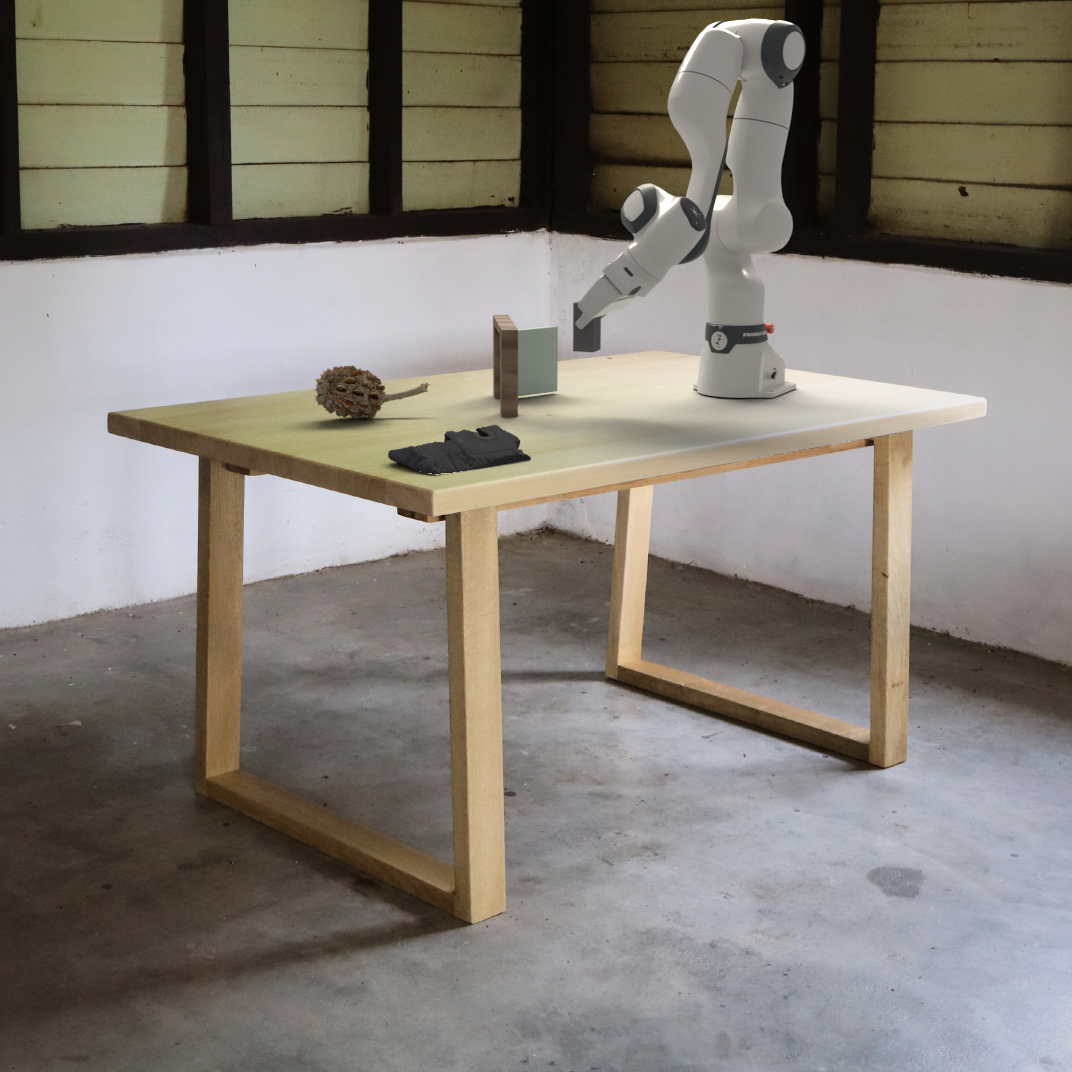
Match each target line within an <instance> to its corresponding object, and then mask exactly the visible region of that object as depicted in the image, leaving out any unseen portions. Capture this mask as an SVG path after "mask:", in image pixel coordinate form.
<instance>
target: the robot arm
mask: <svg viewBox="0 0 1072 1072" xmlns="http://www.w3.org/2000/svg"><path fill="white" fill-rule="evenodd" d="M806 43H807V42H806V39H805V36H804V34H803V32H802V29H801V28H800V27H799V26H798V25H797V24H794V23H792V22H789V21H786V20H781V19H780V20H771V19H765V18H764V19H763V18H749V19H739V20H730V21H728V20H720V21H715V22H713V23H710V24H708V25H707V26H706V27H705V28H704V29H703V30H702V31H701V32H700V33H699V34H698V35H697V37H696V39H694V41H693V43H692V45H691V46H690V47H689V49H688V51H687V52H686V55H685V56H684V58H683V60H682V62H681V64H680V65H679V69H678V70H677V72H676V73H677V74H676V76H675V78H674V80H673V83H672V86H671V88H670V90H669V94H668V98H667V111H668V115H669V118H670V121H671V123H672V125H673V127H674V128H675V130H676V131H677V132H678V134H679V136H680V137H681V139H682V142H683V143H684V144H685V147H686V148H687V150H688V153H689V156H690V158H691V165H692V166H691V167H692V168H691V169H692V171H691V175H690V179H689V184H688V188H687V191H686V195H685V196H675V195H673V194H670V193H669V192H667V191H666V190H664V189H662V188H661V187H659V186H658V185H655V184H653V183H650V182H649V183H643V184H640V185H638V186H636V188H634V189H633V190H631V191H630V192H629V193H628V194H627V195H626V197H625V198H624V199H623V201H622V204H621V208H620V219H621V223H622V224H623V226H624V228H626V229H627V231H628V232H630V233H631V234H632V235H633V240H632V242H630V243H629V244H628V245H627V246H626V247H625V248H624V249H623V250H622V251H621V252H620V253H619V254H618V255H617V256H616V257H615V258H614V259H613V260H612V261H611V262H609V263H608V264H607V265H606V266H604V268H603V269H602V273H603V274H601V276H600V277H598V279H597V280H596V281H595V282H594V283H593V284H592V285H591V287H589V289H588V291H586V292H585V294H584V295H583V296H582V298H581V299H580V300H579V301H580V302H579V304H578V307H579V309H580V310H581V311H582V312H583V314H582V315H581V317H580V318H579V319H578V320H577V321H576V326H577V327H578V328H579V329H584V328H585V327H586V326H587V325H588V324H589V322H590V321H591V320H592V319H593V318H596V317H599V316H601V320H602V319H603V318H605V317H606V316H607V315H609V314H611V313H614V312H617V311H620V310H621V311H622V310H623V309H624V310H625V308H627V307H628V306H629V305H630V304H631V303H632V302H633V301H634V300H635V299H636V298H637V297H640V298H645V297H647V296H648V295H649V294H650V293H651V292H652V291H653V290H654V289H655V288H656V287H657V286H658V285H659V284H660V282H662V281H663V280H664V278H665V277H666V275H667V274H668V272H669V270H671V269H672V268H673V267H674V266H678V265H685V264H688V263H691V262H693V261H695V260H697V259H698V258H700V257H702V260H703V264H704V269H705V272H706V277H707V278H706V279H707V286H708V287H707V288H708V290H707V291H708V295H707V296H708V300H707V301H708V303H707V305H708V306H707V309H708V310H707V313H708V314H707V322H706V323H705V328H704V341H705V340H706V343H705V346H704V347H703V348H702V349H701V351H700V358H699V365H698V366H699V367H698V375H697V382H694V383H693V384H692V385H693V386H692V388H693V389H694V390H697V391H696V392H697V393H699V394H700V395H705V396H712V397H719V398H738V399H739V398H740V399H742V398H743V399H745V398H746V399H747V398H749V399H750V398H763V399H765V398H766V399H767V398H768V399H769V398H770V399H772V398H776V397H779V396H780V395H783V394H785V393H788V392H790V391H792V390H795V389H797V384H796V383H795V382H791V381H787V380H786V379H785V378H786V375H785V374H786V367H785V360H784V359H783V357H782V356H781V355H780V354H779V353H778V352H777V351H776V350H775V349H774V348H773V347H772V346H771V344H769V342H768V341H769V337H768V334H769V335H772V334H774V332H775V327H776V326H775V325H774V323H764V318H765V317H764V314H765V294H766V292H765V289H766V288H765V283H764V281H763V279H762V278H761V276H760V275H759V274H758V272H757V271H756V268H755V265H754V262H753V259H752V258H753V257H752V255H764V254H769V253H773V252H778V251H779V250H781V249H782V248H784V247H785V246H786V245H787V244H788V242H789V241H790V238H791V236H792V234H793V228H794V224H793V216H792V214H791V211H790V210H789V208H788V207H787V206H786V203H785V200H784V198H783V191H782V164H783V160H784V155H785V151H786V145H787V140H788V136H789V131H790V126H791V120H792V112H793V107H794V80H795V78H796V76H797V75H798V73H799V72H800V70H801V68H802V66H803V63H804V61H805V58H806V52H807V44H806ZM738 81H741V88H742V89H741V91H740V94H739V98H738V99H737V100H738V101H737V104H736V108H735V110H734V115H733V119H732V123H731V128H730V133H729V138H728V135H727V119H728V118H727V116H728V111H729V105H730V102H731V99H732V97H733V94H734V91H735V89H736V87H737V83H738ZM725 165H726V166H727V167H728V168H729V170H730V172H731V174H732V180H733V181H732V182H733V191H732V192H733V193H732V195H729V194H718V192H719V188H720V185H721V181H722V177H723V173H724V169H725ZM785 380H786V381H785Z"/></svg>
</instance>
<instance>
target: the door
mask: <svg viewBox="0 0 1072 1072" xmlns="http://www.w3.org/2000/svg"><path fill="white" fill-rule="evenodd" d="M558 328H559V326H555V325H551V326H541V327H539V326H538V327H531V328H520V329H518V328H517V329H518V397H522V396H523V397H525V396H532V395H541V394H546V393H554V392H558V374H559V373H558V358H559V354H558V353H559V351H558V347H559V344H558V343H559V339H558V338H559V337H558V336H559V333H558V332H559V329H558Z"/></svg>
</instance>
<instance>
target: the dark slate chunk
mask: <svg viewBox="0 0 1072 1072" xmlns="http://www.w3.org/2000/svg"><path fill="white" fill-rule="evenodd" d="M520 444H521V440H520V438H519V437H518V436H517V435H516V434H513V433H511V432H509V431H507V430H505V429H503V428H502V427H500V425H498V424H491V425H487V426H481V427H476V428H475V431H472V430H469V429H461V430H459V431H454V430H448V431H445V433H444V439H443V441H433V442H427V443H423V444H418V445H416V446H415V445H409V446H406V447H401V448H395V449H391V450H388V453H387V457H388V459H389V460H391V461H393V462H394V463H398V464H400V463H401V464H400V465H404V466H407V467H409V468H410V469H411V470H415V471H416V470H417V471H416V472H418V471H421V472H422V473H421V472H420V473H421V474H423V473H432V474H441V473H451V474H454V473H453V472H456V473H461V472H460V471H463V472H469V471H476V470H482V469H487V468H493V467H498V466H499V467H500V466H504V465H511V464H515V463H523V461H524V462H527V461H531V458H532V456H529V455H528V454H526V453H524V451H523V449H521V448H520V447H521V446H520ZM468 470H469V471H468Z"/></svg>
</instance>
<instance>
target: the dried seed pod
mask: <svg viewBox="0 0 1072 1072" xmlns="http://www.w3.org/2000/svg"><path fill="white" fill-rule="evenodd" d="M332 367H333V368H332V369H331V368H327V369H326V370H324V371H322V373H320V378H315V380H314V381H316V384H315V387H316V388H315V392H316V394H317V395H315V401H316V402H317V405H318V406H322V408H324V409H325V411H326V412H328V414H330V415H332V414H333V413H335V416H337V417H340V418H341V417H343V418H347V417H348V416H349V417H350V418H351V419H352V420H355V419H358V418H359V419H361V418H363V417H364V418H369V419H372V418H375V417H376V415H377V413H378V412H380V411H381V409H382V405H384V403H388V402H392V401H395V400H396V401H397V400H403V399H405V398H410V397H413V396H416V395H417V396H418V395H420V394H423V393H427V392H429V391H428V387H429V386H431V384H429V383H428V382H425V383H423V382H422V383H421V384H420V385H418V386H417V387H414V388H411V389H408V390H404V391H401V392H396V393H394V392H393V393H388V394H386V393H387V392H385V391H384V390H386V385H383V384H382V380H381V379H380V378H379V377H378V376H377V375H375V374H373V373H372V372H371V371H370V370H368V369H367V370H364V369H363V370H362V368H357V367H356V366H355V365H344V366H342V365H340V366H332Z"/></svg>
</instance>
